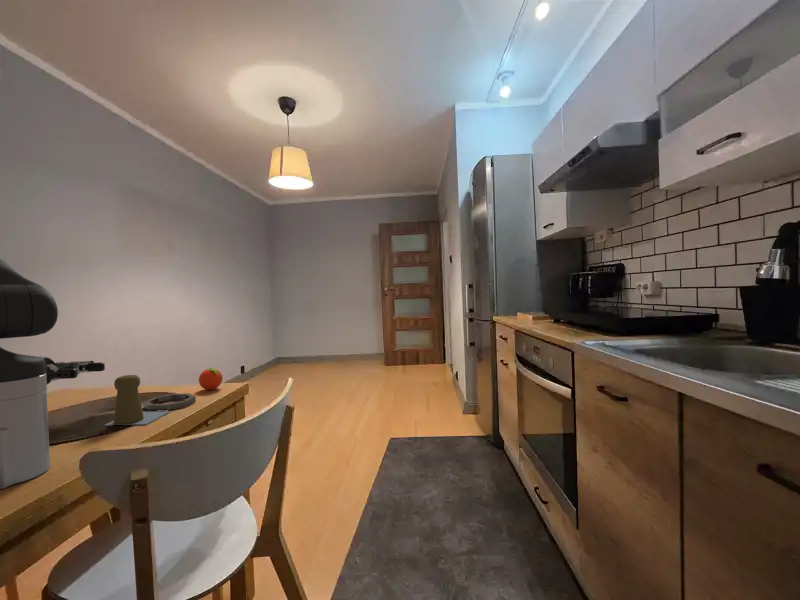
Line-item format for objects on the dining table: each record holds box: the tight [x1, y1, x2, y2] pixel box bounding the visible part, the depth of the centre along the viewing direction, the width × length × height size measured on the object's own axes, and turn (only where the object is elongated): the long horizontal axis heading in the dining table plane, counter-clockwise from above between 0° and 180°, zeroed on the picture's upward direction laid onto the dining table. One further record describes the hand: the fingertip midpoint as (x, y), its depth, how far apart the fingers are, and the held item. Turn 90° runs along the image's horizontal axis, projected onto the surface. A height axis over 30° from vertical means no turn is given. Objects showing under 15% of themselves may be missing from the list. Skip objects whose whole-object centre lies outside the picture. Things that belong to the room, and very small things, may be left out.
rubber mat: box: [104, 410, 172, 427], centre depth 95 cm, size 10×10×1 cm
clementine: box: [198, 367, 223, 391], centre depth 122 cm, size 8×7×7 cm
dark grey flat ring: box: [143, 392, 197, 411], centre depth 106 cm, size 12×12×2 cm
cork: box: [113, 374, 144, 424], centre depth 92 cm, size 6×6×11 cm
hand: (90, 369), depth 94 cm, fingers open, 8 cm apart
